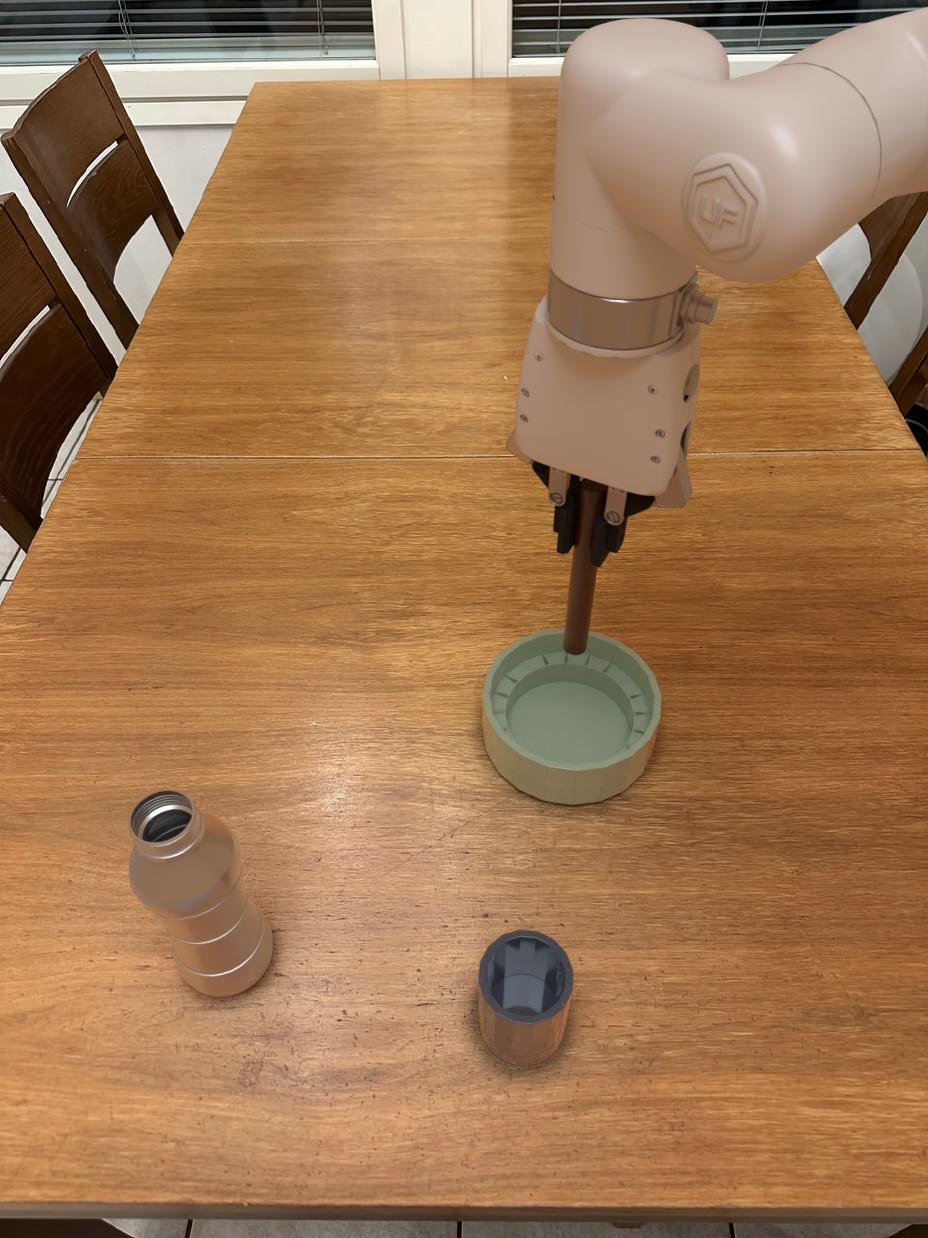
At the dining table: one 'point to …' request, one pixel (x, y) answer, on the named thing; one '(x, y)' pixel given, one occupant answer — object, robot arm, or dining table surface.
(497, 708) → the bowl
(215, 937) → the plastic bottle
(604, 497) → the stirring stick
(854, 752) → the dining table surface
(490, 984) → the utensil pot
